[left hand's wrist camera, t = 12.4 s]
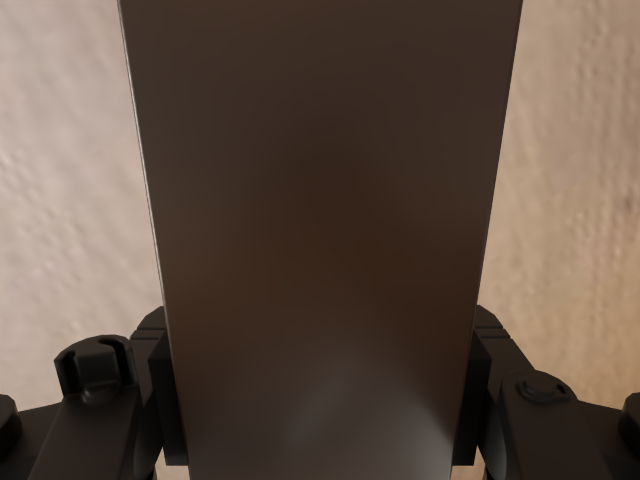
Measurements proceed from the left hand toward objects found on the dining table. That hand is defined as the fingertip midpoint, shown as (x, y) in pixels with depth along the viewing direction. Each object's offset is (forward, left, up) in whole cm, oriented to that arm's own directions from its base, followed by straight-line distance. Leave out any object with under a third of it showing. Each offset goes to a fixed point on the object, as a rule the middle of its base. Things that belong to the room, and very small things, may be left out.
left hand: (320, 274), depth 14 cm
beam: (+12, 0, -1) cm, 12 cm away
